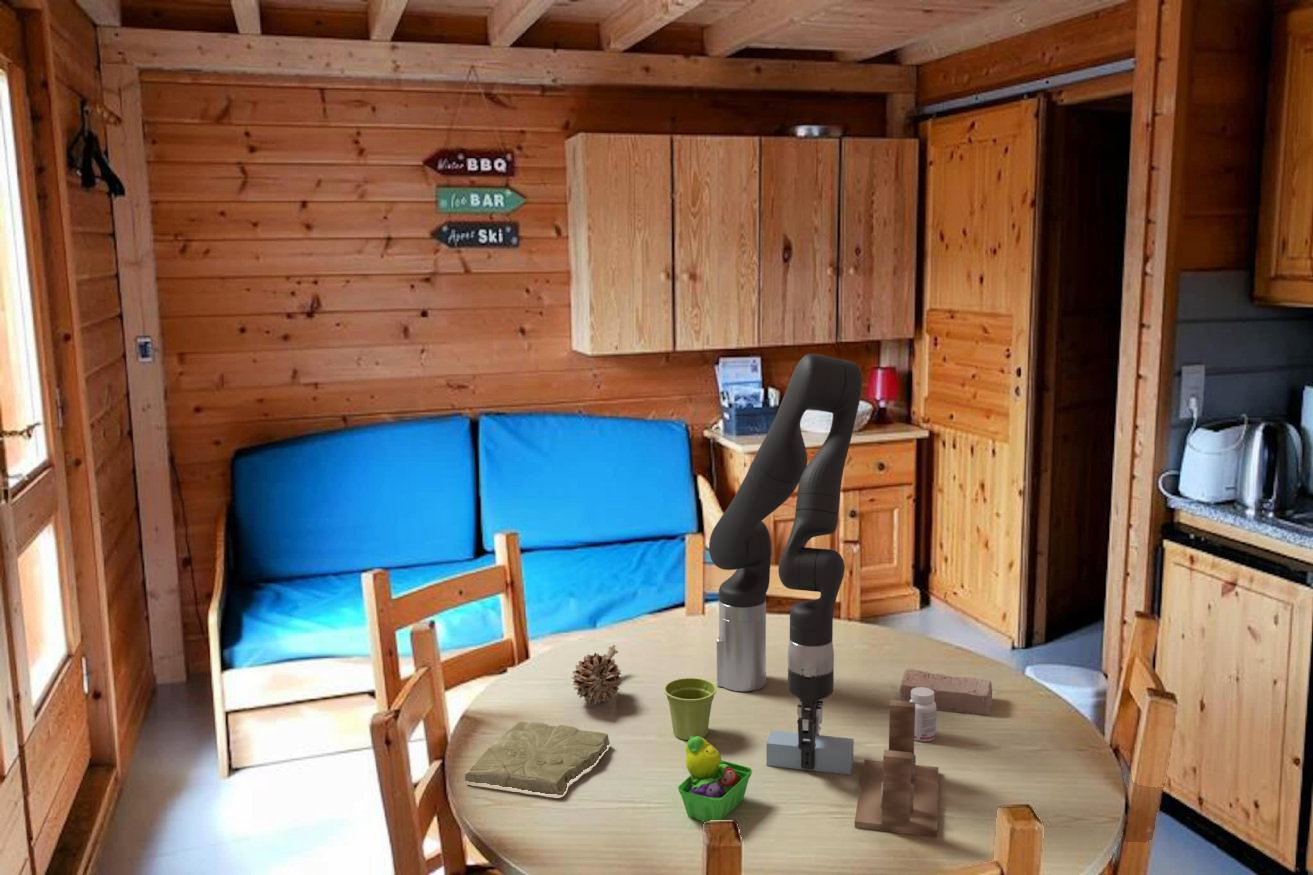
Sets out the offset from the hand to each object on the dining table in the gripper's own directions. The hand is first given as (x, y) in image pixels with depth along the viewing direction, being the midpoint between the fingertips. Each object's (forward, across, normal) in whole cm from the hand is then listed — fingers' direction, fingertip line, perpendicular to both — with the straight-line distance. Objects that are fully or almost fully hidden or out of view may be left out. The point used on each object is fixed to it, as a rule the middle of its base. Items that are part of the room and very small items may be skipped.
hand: (810, 760), depth 184 cm
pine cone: (0, -19, -43) cm, 47 cm away
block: (+1, 0, 0) cm, 1 cm away
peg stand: (+1, +9, +15) cm, 17 cm away
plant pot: (+1, -6, -22) cm, 23 cm away
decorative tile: (+1, +11, -44) cm, 45 cm away
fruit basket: (+1, +18, -13) cm, 22 cm away
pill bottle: (+1, -14, +18) cm, 23 cm away
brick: (+1, -30, +22) cm, 37 cm away
